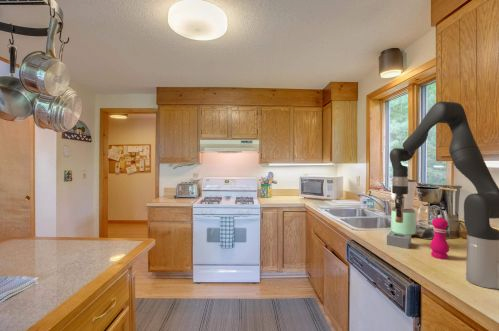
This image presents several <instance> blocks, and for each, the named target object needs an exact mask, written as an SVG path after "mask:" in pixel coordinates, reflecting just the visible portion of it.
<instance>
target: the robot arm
mask: <svg viewBox="0 0 499 331" xmlns="http://www.w3.org/2000/svg"><path fill="white" fill-rule="evenodd" d="M437 124H447V126H448V127H449V129H450V131H451V141H450V143H449V147H448V148H449V149H448V154H449V155H450V159H451V161H452V163H453V166H455V168H456V169H457V170H458V172H460V173H461V174H462V175H463V176H464V177H465V178H466V179H468V180H469V181H470V183H471V184H472V185H473V186H474V188H475V191H476V192H477V193H476V192H475V193H471V194H468V195H467V196H466V197H465V199H464V202H463V218H464V220H463V222H464V227H465V229H466V258H465V260H466V262H465V264H466V265H465V266H466V268H465V269H466V270H465V272H466V273H465V279H466V280H467V282H469V283H471V284H473V285H476V286H479V287H482V288H488V289H495V290H496V289H497V290H499V229H497V228H493V227H492V226H491V224H490V219H499V186H498V185H497V183H496V181H495V180H494V178H493V176H492V175H491V172H490V170H489V168H488V166H487V163H486V162H485V160H484V157H483V155H482V154H483V153H481V150H480V148H479V145H478V143H477V142H476V140H475V138H474V135H473V132H472V130H471V127H470V124H469V121H468V118H467V114H466V111H465V108H464V107H463V105H462V103H461V104H460V103H459V102H454V101H453V102H452V101H438V102H436V103H434V104H433V105H432V106H431V107H430V108H429V110H428V111H427V113H426V114H425V116H424V117H423V118H422V120H421V121H420V123H419V125H418V126H417V128H416V129H415V130H414V131H413V132H412V133H411V134H410V135H409V136H408V137H407V138H405V140H404V141H403V143H402V147H401V148H400V147H399V148H397V147H396V148H395V147H394V148H393V149H391V150H390V153H389V160H390V163H391V167H392V179H391V187H392V193H394V194H397V195H396V197H395V203H394V207H395V209H396V216H397V217H401V210H402V206H403V208H404V200H405V197H403V194H408V179H409V168H408V166H405V165H403V164H402V162H408V161H410V160H411V159H412V158H413V157H414V155H415V154H416V152H417V150H418V149H419V148H420V147H422V146H423V144H425V142H426V141H427V139H428V136H429V132H430V130H431V129H432V128H433V127H435V126H436V125H437ZM398 206H399V207H398Z"/></svg>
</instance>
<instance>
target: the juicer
mask: <svg viewBox="0 0 499 331" xmlns="http://www.w3.org/2000/svg"><path fill="white" fill-rule="evenodd" d="M416 189H417V179H416V180H415V179H409V178H408V194H403V197H405V200H404V208H403V223H398V222H396V209H395V206H394V207H392V209H391V211H390V212H391V213H390V215H391V216H390V232H395V233H401V234H407V235H411V237H415V236H414V235H416V234H417V233H416V231H417V230H416V223H417V221H416V220H417V216H416V214H417V213H416V211H415V209H414V208H413V204H414V198H415V194H416ZM390 192H391V194H390V195H391V196H390V197H391V199H392V201H393V203H394V204H395V197H396V195H397V194H394V193H392V186H391V191H390Z"/></svg>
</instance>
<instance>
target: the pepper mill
mask: <svg viewBox="0 0 499 331" xmlns="http://www.w3.org/2000/svg"><path fill="white" fill-rule="evenodd" d="M431 225H432V226H433V229H432V230H433V232H434V233H433V234H434V235H433V238H432V240H431V242H430V244H429V247H430V249H431V253H430V256H431V257H433V258H436V259H438V258H439V259H440V260H447V259H449V255H448V253H449V252H450V247H449V244H448V242H447V240H446V233H447V228H448V227H449V223H448V221H447V220H446V219H445V218H443V215H441V214H438V215H437V217H436V218H433V219H432V222H431Z"/></svg>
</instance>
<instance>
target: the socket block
mask: <svg viewBox="0 0 499 331" xmlns="http://www.w3.org/2000/svg"><path fill="white" fill-rule="evenodd" d="M386 245H387V246H390V247H391V246H392V247H397V248H402V249H407V250H409V249H410V248H411V247H410V246H411V245H412V236H411V235H407V234H401V233H395V232H391V231H390V232H389V233H388V234H387V235H386Z"/></svg>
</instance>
